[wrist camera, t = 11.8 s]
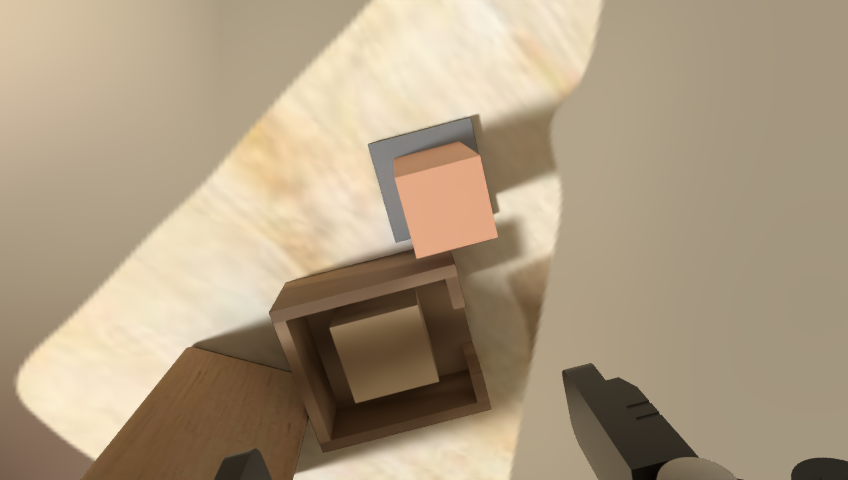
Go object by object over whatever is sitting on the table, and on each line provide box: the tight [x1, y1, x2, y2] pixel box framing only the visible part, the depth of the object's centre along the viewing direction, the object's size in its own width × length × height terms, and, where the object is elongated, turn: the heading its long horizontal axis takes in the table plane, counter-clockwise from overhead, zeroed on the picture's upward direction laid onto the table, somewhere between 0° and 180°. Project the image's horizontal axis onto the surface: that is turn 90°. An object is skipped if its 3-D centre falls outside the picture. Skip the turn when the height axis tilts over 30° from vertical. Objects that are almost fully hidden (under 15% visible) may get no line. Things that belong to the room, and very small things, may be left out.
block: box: [394, 141, 498, 259], centre depth 29 cm, size 4×4×8 cm
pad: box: [368, 118, 478, 243], centre depth 33 cm, size 7×7×1 cm
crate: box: [269, 249, 491, 453], centre depth 34 cm, size 11×12×5 cm
